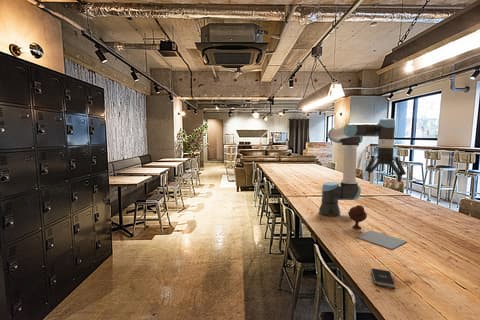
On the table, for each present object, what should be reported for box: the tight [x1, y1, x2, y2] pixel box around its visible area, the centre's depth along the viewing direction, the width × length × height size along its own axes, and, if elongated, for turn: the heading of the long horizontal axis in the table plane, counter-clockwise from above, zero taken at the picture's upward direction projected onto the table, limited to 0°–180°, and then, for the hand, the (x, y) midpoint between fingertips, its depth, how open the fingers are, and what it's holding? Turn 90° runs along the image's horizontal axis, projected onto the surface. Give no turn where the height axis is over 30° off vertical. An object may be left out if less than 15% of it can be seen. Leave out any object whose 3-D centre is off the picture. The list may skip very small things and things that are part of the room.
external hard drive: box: [371, 268, 396, 290], centre depth 103 cm, size 7×11×2 cm, turn 159°
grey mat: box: [354, 229, 408, 251], centre depth 143 cm, size 20×17×1 cm
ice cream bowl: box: [347, 204, 368, 231], centre depth 161 cm, size 11×11×15 cm
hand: (383, 185), depth 141 cm, fingers open, 13 cm apart
